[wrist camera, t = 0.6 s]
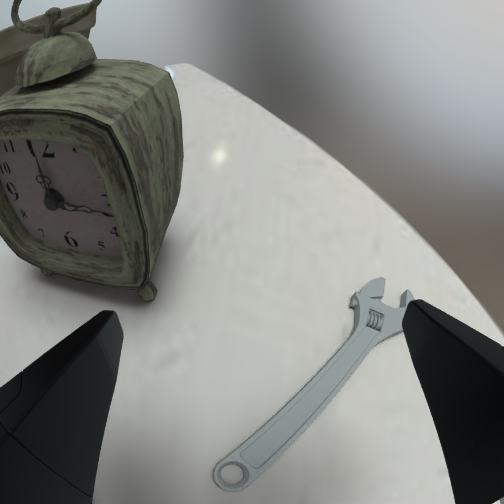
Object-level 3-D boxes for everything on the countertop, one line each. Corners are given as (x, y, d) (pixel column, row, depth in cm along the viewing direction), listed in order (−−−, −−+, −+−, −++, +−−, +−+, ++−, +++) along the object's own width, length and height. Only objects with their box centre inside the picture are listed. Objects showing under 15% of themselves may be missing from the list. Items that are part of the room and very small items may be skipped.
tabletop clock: (30, 282, 22) (-68, 24, 3) (67, 215, 28) (26, -13, 8) (164, 319, 23) (146, -76, 4) (188, 237, 29) (211, -48, 9)
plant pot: (23, 105, 45) (12, 23, 28) (115, 90, 49) (115, -4, 33) (-35, 171, 30) (-65, 65, 13) (73, 154, 34) (55, 10, 18)
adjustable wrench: (230, 496, 15) (232, 500, 14) (175, 432, 18) (172, 431, 17) (415, 314, 27) (424, 306, 26) (375, 274, 30) (382, 264, 29)
